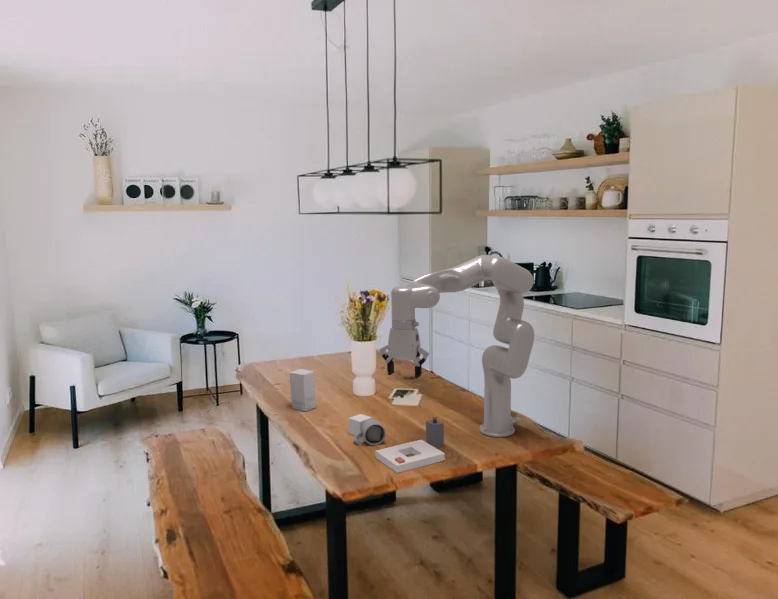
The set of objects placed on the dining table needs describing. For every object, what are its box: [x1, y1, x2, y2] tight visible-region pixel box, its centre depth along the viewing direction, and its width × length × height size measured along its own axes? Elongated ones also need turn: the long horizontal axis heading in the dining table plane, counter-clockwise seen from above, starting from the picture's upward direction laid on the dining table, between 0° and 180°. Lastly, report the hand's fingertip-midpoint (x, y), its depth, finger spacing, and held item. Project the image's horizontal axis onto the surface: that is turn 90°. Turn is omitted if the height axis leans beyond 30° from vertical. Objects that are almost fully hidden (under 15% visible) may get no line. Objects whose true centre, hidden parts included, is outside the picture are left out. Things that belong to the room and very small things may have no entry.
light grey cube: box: [348, 413, 373, 438], centre depth 231 cm, size 6×6×6 cm
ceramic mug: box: [353, 418, 387, 446], centre depth 223 cm, size 11×8×8 cm
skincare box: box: [289, 368, 317, 412], centre depth 259 cm, size 8×7×16 cm
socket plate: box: [374, 439, 446, 474], centre depth 208 cm, size 18×14×3 cm
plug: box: [425, 416, 445, 448], centre depth 220 cm, size 4×5×10 cm
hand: (404, 375), depth 208 cm, fingers open, 9 cm apart
